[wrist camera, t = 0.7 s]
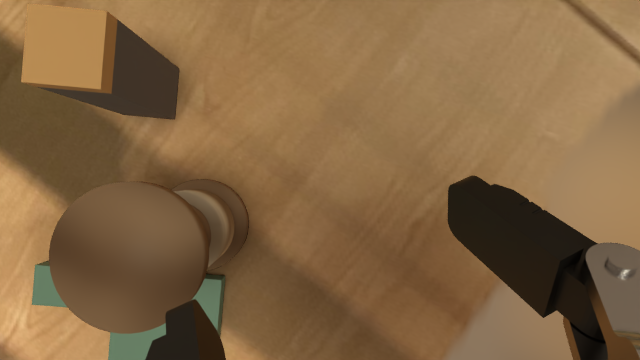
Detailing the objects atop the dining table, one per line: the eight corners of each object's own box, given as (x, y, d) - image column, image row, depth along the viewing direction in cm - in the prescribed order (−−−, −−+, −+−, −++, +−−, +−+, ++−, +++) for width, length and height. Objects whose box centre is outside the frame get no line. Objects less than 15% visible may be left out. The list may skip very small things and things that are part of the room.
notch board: (46, 261, 28) (35, 265, 27) (225, 275, 29) (221, 280, 27) (34, 412, 28) (22, 422, 27) (212, 425, 29) (208, 436, 28)
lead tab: (128, 64, 28) (27, 3, 18) (179, 68, 28) (107, 11, 18) (123, 114, 28) (21, 82, 18) (175, 119, 28) (100, 89, 18)
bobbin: (163, 175, 28) (55, 175, 16) (252, 183, 29) (209, 188, 17) (156, 263, 28) (43, 327, 16) (244, 271, 29) (196, 339, 17)
